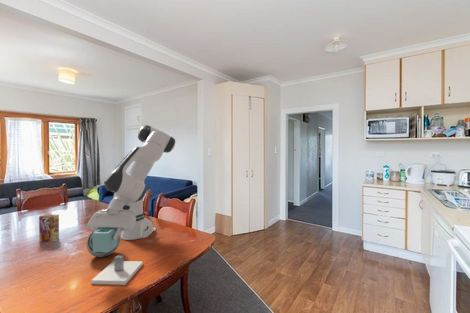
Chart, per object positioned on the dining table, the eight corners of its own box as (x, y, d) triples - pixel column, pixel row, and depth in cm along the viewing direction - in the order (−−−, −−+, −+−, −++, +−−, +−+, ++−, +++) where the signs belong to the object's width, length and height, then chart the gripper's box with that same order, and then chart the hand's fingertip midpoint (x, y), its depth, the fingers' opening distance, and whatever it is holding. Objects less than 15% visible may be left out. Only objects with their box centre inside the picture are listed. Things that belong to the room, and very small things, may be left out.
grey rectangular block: (117, 268, 99) (116, 255, 99) (123, 268, 99) (123, 255, 99) (114, 271, 97) (114, 257, 97) (121, 271, 97) (121, 257, 97)
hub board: (113, 263, 106) (113, 260, 106) (142, 264, 106) (142, 261, 106) (91, 283, 90) (91, 280, 90) (125, 284, 90) (125, 281, 90)
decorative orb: (83, 264, 106) (83, 233, 105) (89, 251, 119) (89, 224, 118) (119, 258, 111) (118, 229, 111) (121, 247, 125) (120, 220, 124)
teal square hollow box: (103, 245, 99) (102, 227, 99) (117, 245, 99) (117, 227, 99) (92, 252, 93) (92, 233, 92) (108, 252, 92) (107, 233, 92)
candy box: (59, 239, 136) (59, 214, 135) (53, 242, 131) (53, 216, 131) (45, 239, 136) (44, 214, 135) (38, 241, 131) (38, 216, 131)
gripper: (92, 206, 103) (77, 235, 93) (135, 206, 102) (124, 236, 92) (99, 213, 108) (85, 241, 98) (140, 213, 106) (130, 242, 97)
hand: (104, 239), depth 95 cm, fingers closed on teal square hollow box, 7 cm apart
